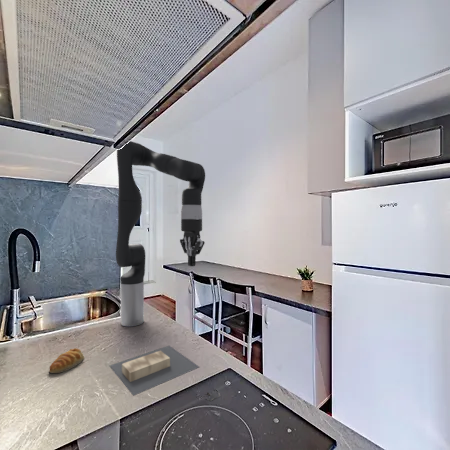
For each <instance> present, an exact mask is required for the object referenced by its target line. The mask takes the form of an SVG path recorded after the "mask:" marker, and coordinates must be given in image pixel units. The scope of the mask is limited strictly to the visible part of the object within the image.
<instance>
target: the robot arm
mask: <svg viewBox="0 0 450 450" xmlns="http://www.w3.org/2000/svg"><path fill="white" fill-rule="evenodd" d="M129 141H130V142H129V143H128V144H126V145H125V146H124V147H123V148H122V149H120V150H117V149H116V164H117V174H118V175H117V176H118V195H117V196H118V199H117V200H118V201H117V209H118V210H117V215H118V216H117V217H118V218H117V227H118V228H117V236H116V237H117V238H116V248H115V260H116V264H117V266H118V267H120V268H127V267H129V268H130V269H129V270H128V271H127V272H126V273H124V274H122V275H121V276H120V281H119V283H120V325H121V326H123V327H136V326H139V325H142V324H143V323H144V321H145V316H144V315H145V305H144V304H145V303H144V302H145V298H144V297H145V296H144V294H145V291H144V285H145V284H144V279H145V278H144V277H145V273H146V251H145V246H144V245H143V244H141V243H130V236H131V233H132V231H133V229H134V227H135V226H136V225H137V223H138V221H139V220H140V217H141V215H142V211H143V210H142V209H143V205H142V203H143V200H142V198H143V197H142V194H141V191H140V189H139V187H138V185H137V183H136V181H135V177H134V176H133V175H134V174H133V166H138V167H139V166H140V167H141V166H143V167H150V168H153V169H154V170H157V171H158V172H160V173H163V174H166V175H168V176H172V177H174V178H176V179H179V180H182V181H185V182H188V186H187V188H184V189H183V190H182V191H181V210H180V230H181V232H183V238H182V239H181V238H180V239H179V243H180V245H181V247H182V250H183V253H184V254H186V256H187V265H188V267H195V266H196V257H197V255H200V253H201V252H202V250H203V247H204V246H205V244H206V243H205V241H204V240H201V233H200V232H203V207H202V193H203V189H204V187H205V186H204V185H205V181H206V170H205V168H204V166H203V165H202V164H200V163H198V162H193V161H190V160H186V159H183V158H178V157H176V156H173V155H170V154H167V153H161V152H156V151H154V150H152V149H150V148H148V147H146V146H145V145H143V144H141V143H138V142H135V141H132V140H129Z"/></svg>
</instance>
